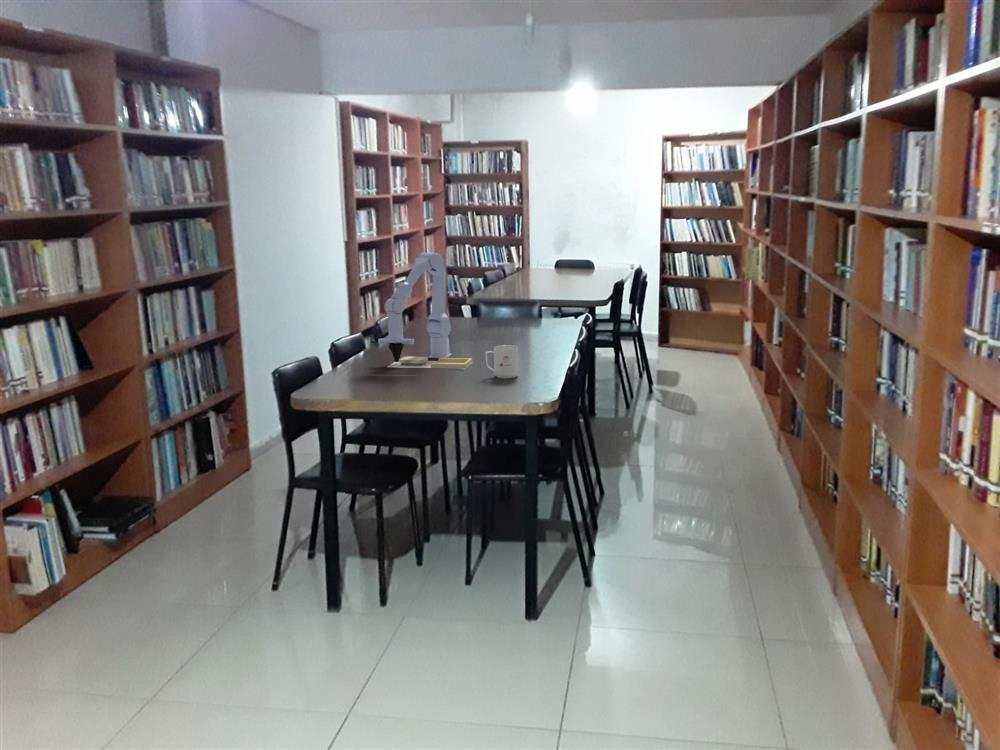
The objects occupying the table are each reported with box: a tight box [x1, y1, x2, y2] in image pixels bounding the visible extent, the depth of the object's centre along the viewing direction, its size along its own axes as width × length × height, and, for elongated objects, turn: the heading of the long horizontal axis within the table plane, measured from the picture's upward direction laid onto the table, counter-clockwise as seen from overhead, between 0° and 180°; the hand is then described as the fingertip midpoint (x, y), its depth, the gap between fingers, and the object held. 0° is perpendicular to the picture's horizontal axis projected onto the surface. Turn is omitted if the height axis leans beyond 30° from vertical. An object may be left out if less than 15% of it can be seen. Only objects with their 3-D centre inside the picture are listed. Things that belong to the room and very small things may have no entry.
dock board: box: [387, 357, 474, 371], centre depth 352 cm, size 14×32×2 cm, turn 79°
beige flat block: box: [399, 355, 429, 365], centre depth 353 cm, size 10×7×2 cm
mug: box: [485, 344, 519, 379], centre depth 327 cm, size 12×9×11 cm
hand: (397, 361), depth 355 cm, fingers closed
